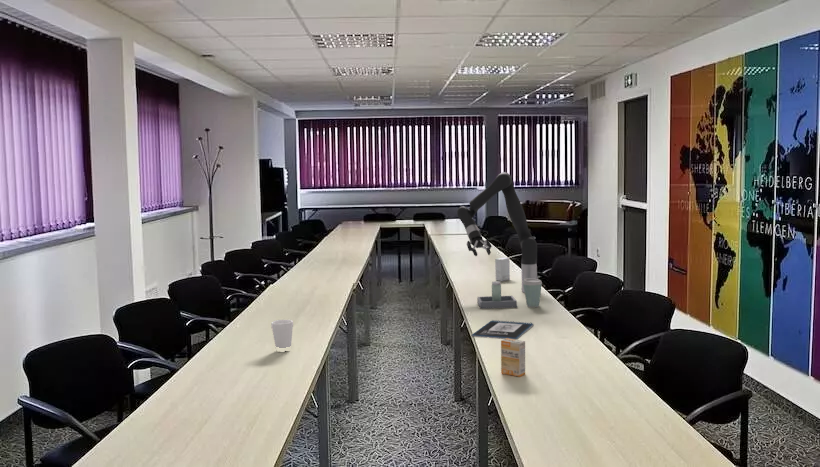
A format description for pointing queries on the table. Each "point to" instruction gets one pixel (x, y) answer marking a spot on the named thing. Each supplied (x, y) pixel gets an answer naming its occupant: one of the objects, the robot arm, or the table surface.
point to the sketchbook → (503, 329)
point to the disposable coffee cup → (532, 291)
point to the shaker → (496, 291)
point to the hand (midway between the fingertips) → (483, 254)
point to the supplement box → (513, 357)
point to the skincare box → (502, 269)
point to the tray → (496, 302)
